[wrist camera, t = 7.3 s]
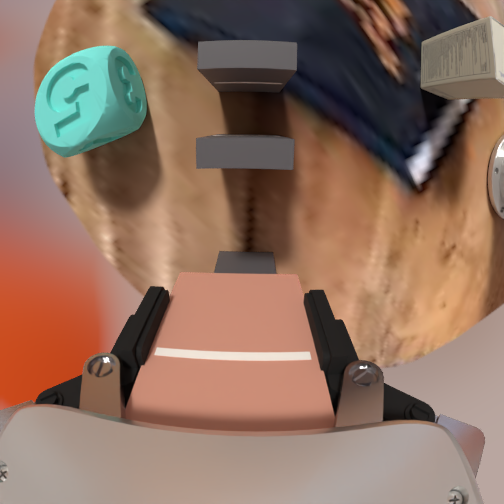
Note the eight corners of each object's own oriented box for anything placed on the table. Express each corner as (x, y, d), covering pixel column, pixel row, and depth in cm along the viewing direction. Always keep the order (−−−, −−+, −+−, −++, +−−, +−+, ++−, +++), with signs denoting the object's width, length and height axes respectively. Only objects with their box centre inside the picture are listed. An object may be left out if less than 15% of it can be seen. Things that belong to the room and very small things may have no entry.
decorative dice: (89, 152, 26) (44, 164, 19) (73, 87, 23) (27, 83, 15) (154, 124, 25) (119, 125, 18) (136, 55, 22) (99, 36, 15)
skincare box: (448, 100, 23) (526, 103, 12) (417, 88, 23) (495, 81, 12) (449, 52, 20) (522, 40, 9) (419, 38, 20) (490, 14, 9)
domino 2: (218, 134, 26) (196, 138, 16) (278, 135, 26) (294, 139, 16) (218, 152, 26) (196, 168, 16) (277, 153, 26) (293, 170, 16)
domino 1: (219, 73, 23) (198, 41, 13) (279, 74, 23) (296, 42, 13) (218, 91, 24) (197, 69, 14) (279, 92, 24) (296, 70, 14)
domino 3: (219, 251, 30) (204, 313, 20) (273, 252, 31) (282, 315, 20) (219, 266, 31) (205, 333, 21) (272, 267, 31) (280, 334, 21)
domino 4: (180, 271, 14) (95, 501, 4) (297, 273, 14) (355, 516, 4) (183, 303, 14) (123, 518, 4) (293, 305, 15) (334, 529, 4)
